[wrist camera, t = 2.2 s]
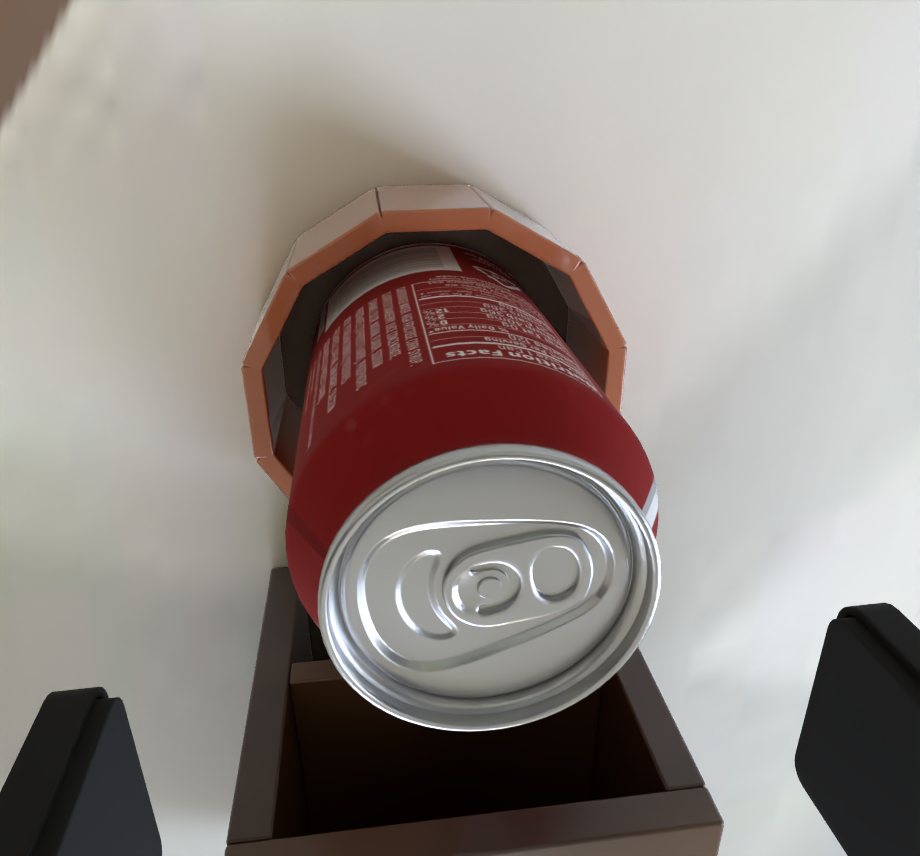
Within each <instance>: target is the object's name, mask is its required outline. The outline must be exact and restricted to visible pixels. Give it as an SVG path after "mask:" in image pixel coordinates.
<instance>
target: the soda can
mask: <svg viewBox="0 0 920 856" xmlns="http://www.w3.org/2000/svg"><path fill="white" fill-rule="evenodd" d="M657 526H658V496H657V488H656V483H655V479H654V475H653V471H652V468H651V465H650V463H649V460H648V457H647V455H646V453H645V451H644V449H643V447H642V445H641V443H640V441H639V440H638V438H637V437H636V435H635V434H634V432H633V431H632V429H631V428H630V426H629V425H628V424H627V422H626V421H625V420H624V418H623V417H622V416H621V414H620V413H619V412H618V411H617V409H616V408H615V407H614V405H613V404H612V403H611V402H610V400H609V399H608V398H607V396H606V395H605V394H604V393H603V391H602V390H601V389H600V387H599V386H598V385H597V383H596V382H595V381H594V380H593V378H592V377H591V376H590V374H589V373H588V372H587V371H586V369H585V368H584V367H583V365H582V364H581V363H580V362H579V360H578V359H577V358H576V356H575V355H574V354H573V352H572V351H571V350H570V349H569V347H568V346H567V345H566V343H565V342H564V341H563V340H562V338H561V337H560V336H559V334H558V333H557V332H556V330H555V329H554V328H553V327H552V325H551V324H550V323H549V321H548V320H547V319H546V318H545V316H544V315H543V314H542V312H541V311H540V310H539V309H538V307H537V306H536V305H535V303H534V302H533V301H532V299H531V298H530V297H529V296H528V294H527V293H526V292H525V290H524V289H523V288H522V287H521V285H520V284H519V283H518V282H517V281H516V279H515V278H514V277H513V276H512V275H511V274H509V273H508V272H507V271H506V270H505V269H504V268H503V267H501V266H500V265H499V264H497V263H496V262H494V261H493V260H491V259H489V258H488V257H486V256H484V255H482V254H480V253H478V252H475V251H472V250H470V249H467V248H463V247H460V246H456V245H450V244H443V243H418V244H411V245H405V246H401V247H397V248H394V249H391V250H388V251H385V252H383V253H381V254H379V255H377V256H374V257H372V258H371V259H369V260H367V261H366V262H364V263H362V264H361V265H360V266H358V267H357V268H356V269H354V270H353V271H352V272H351V273H350V274H349V275H348V276H347V277H345V278H344V279H343V281H342V282H341V283H340V284H339V285H338V286H337V287H336V289H335V290H334V291H333V293H332V294H331V296H330V297H329V299H328V301H327V302H326V304H325V306H324V308H323V310H322V312H321V314H320V317H319V320H318V323H317V326H316V329H315V334H314V339H313V345H312V351H311V358H310V365H309V371H308V378H307V385H306V391H305V398H304V405H303V411H302V418H301V425H300V431H299V438H298V445H297V451H296V458H295V465H294V471H293V478H292V485H291V491H290V498H289V505H288V511H287V520H286V531H285V534H286V553H287V560H288V566H289V570H290V574H291V577H292V581H293V584H294V586H295V589H296V591H297V594H298V596H299V598H300V600H301V602H302V603H303V605H304V607H305V609H306V611H307V612H308V614H309V615H310V616H311V618H312V619H313V621H314V622H315V623H316V625H317V626H318V627H319V628H320V631H321V634H322V638H323V642H324V645H325V647H326V650H327V652H328V655H329V657H330V658H331V660H332V662H333V664H334V666H335V667H336V669H337V670H338V671H339V673H340V674H341V676H342V677H343V678H344V679H345V681H346V682H347V683H348V684H349V685H350V686H351V687H352V688H353V689H354V690H355V691H356V692H357V693H358V694H360V695H361V696H362V697H363V698H365V699H366V700H367V701H369V702H370V703H371V704H373V705H374V706H376V707H378V708H380V709H381V710H383V711H385V712H387V713H389V714H391V715H393V716H395V717H397V718H400V719H403V720H405V721H408V722H411V723H414V724H418V725H422V726H426V727H431V728H436V729H442V730H452V731H487V730H496V729H503V728H508V727H514V726H518V725H522V724H526V723H530V722H533V721H536V720H539V719H542V718H545V717H547V716H550V715H552V714H555V713H557V712H559V711H561V710H563V709H565V708H567V707H569V706H571V705H573V704H575V703H577V702H578V701H580V700H582V699H583V698H585V697H587V696H588V695H589V694H591V693H592V692H594V691H595V690H596V689H598V688H599V687H600V686H602V685H603V684H604V683H605V682H606V681H608V680H609V679H610V678H611V677H612V676H613V675H614V674H615V673H616V672H617V671H618V670H619V669H620V668H621V667H622V666H623V665H624V664H625V663H626V661H627V660H628V659H629V658H630V657H631V655H632V654H633V653H634V651H635V650H636V648H637V647H638V646H639V644H640V642H641V641H642V639H643V637H644V636H645V634H646V632H647V630H648V628H649V626H650V623H651V621H652V619H653V616H654V613H655V610H656V607H657V603H658V598H659V593H660V585H661V564H660V556H659V551H658V547H657V543H656V535H657Z"/></svg>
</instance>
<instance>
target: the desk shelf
mask: <svg viewBox="0 0 920 856" xmlns="http://www.w3.org/2000/svg"><path fill="white" fill-rule="evenodd" d="M723 827H724V822H723V820H722V817H721V815H720V813H719V811H718V809H717V807H716V805H715V803H714V801H713V799H712V797H711V795H710V793H709V791H708V789H707V788H706V787H705V782H704V780H703V778H702V776H701V774H700V772H699V770H698V768H697V766H696V764H695V762H694V760H693V758H692V756H691V754H690V752H689V750H688V748H687V746H686V744H685V742H684V740H683V738H682V736H681V734H680V731H679V729H678V727H677V725H676V723H675V721H674V719H673V717H672V715H671V713H670V711H669V709H668V707H667V705H666V703H665V701H664V699H663V697H662V695H661V693H660V691H659V689H658V687H657V685H656V683H655V681H654V678H653V676H652V674H651V672H650V670H649V668H648V666H647V664H646V662H645V660H644V658H643V656H642V654H641V652H640V650H639V648H638V647H637V648H636V650H635V651H634V653H633V654H632V655H631V657H630V658H629V659H628V660H627V661H626V663H625V664H624V665H623V666H622V667H621V668H620V669H619V670H618V671H617V672H616V673H615V674H614V675H613V676H612V677H611V678H610V679H609V680H608V681H606V682H605V683H604V684H603V685H602V686H600V687H599V688H598V689H596V690H595V691H594V692H592V693H591V694H589V695H588V696H587V697H585V698H583V699H582V700H580V701H578V702H577V703H575V704H573V705H571V706H569V707H567V708H565V709H563V710H561V711H559V712H557V713H555V714H552V715H550V716H547V717H545V718H542V719H539V720H536V721H533V722H530V723H526V724H522V725H518V726H514V727H508V728H503V729H496V730H487V731H452V730H442V729H436V728H431V727H426V726H422V725H418V724H414V723H411V722H408V721H405V720H403V719H400V718H397V717H395V716H393V715H391V714H389V713H387V712H385V711H383V710H381V709H380V708H378V707H376V706H374V705H373V704H371V703H370V702H369V701H367V700H366V699H365V698H363V697H362V696H361V695H360V694H358V693H357V692H356V691H355V690H354V689H353V688H352V687H351V686H350V685H349V684H348V683H347V682H346V681H345V679H344V678H343V677H342V676H341V674H340V673H339V671H338V670H337V669H336V667H335V666H334V664H333V662H332V660H321V661H313V659H312V651H311V643H310V634H309V626H308V618H307V611H306V609H305V607H304V605H303V603H302V602H301V600H300V598H299V596H298V594H297V591H296V589H295V586H294V584H293V581H292V577H291V574H290V570H289V568H279V569H272V571H271V576H270V582H269V588H268V594H267V600H266V606H265V612H264V618H263V624H262V630H261V636H260V642H259V648H258V654H257V660H256V666H255V672H254V678H253V685H252V691H251V697H250V703H249V709H248V715H247V721H246V727H245V733H244V739H243V745H242V751H241V757H240V763H239V769H238V775H237V781H236V787H235V793H234V799H233V805H232V811H231V817H230V823H229V829H228V835H227V841H226V843H227V847H226V850H225V855H224V856H717V854H718V850H719V845H720V841H721V836H722V831H723Z"/></svg>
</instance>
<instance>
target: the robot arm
mask: <svg viewBox="0 0 920 856" xmlns="http://www.w3.org/2000/svg"><path fill="white" fill-rule="evenodd" d="M795 768H796V772H797V775H798V778H799V780H800V782H801V784H802V786H803V788H804V789H805V791H806V792H807V794H808V795H809V797H810V798H811V800H812V801H813V803H814V804H815V806H816V808H817V809H818V811H819V812H820V814H821V815H822V817H823V818H824V820H825V821H826V823H827V824H828V826H829V828H830V829H831V831H832V832H833V834H834V835H835V837H836V838H837V840H838V841H839V843H840V845H841V846H842V848H843V849H844V851H845V852H846V854H847V855H848V856H920V630H919V629H918V628H917V627H916V626H915V625H914V624H913V623H912V622H911V621H910V620H909V619H907V618H906V617H905V616H904V615H903V614H902V613H901V612H900V611H899V610H898V609H897V608H895V607H894V606H893V605H891V604H887V603H878V604H868V605H859V606H850V607H845V608H843V609H842V610H841V611H840V612H839V614H838V616H837V619H833V620H832V621H831V622H830V623H829V626H828V629H827V633H826V637H825V640H824V644H823V648H822V652H821V656H820V660H819V664H818V668H817V672H816V676H815V680H814V683H813V687H812V691H811V695H810V699H809V703H808V707H807V711H806V715H805V719H804V723H803V726H802V730H801V734H800V738H799V742H798V746H797V750H796V754H795ZM0 856H162V845H161V839H160V835H159V832H158V828H157V824H156V821H155V817H154V813H153V810H152V806H151V802H150V799H149V795H148V791H147V788H146V784H145V780H144V777H143V773H142V769H141V766H140V762H139V758H138V755H137V751H136V747H135V744H134V740H133V736H132V733H131V729H130V725H129V722H128V718H127V714H126V711H125V707H124V704H123V701H122V699H121V698H120V697H116V698H109V697H108V695H107V692H106V690H105V689H104V688H103V687H94V688H85V689H75V690H66V691H57V692H52V693H50V694H49V695H48V696H47V697H46V699H45V701H44V702H43V704H42V706H41V708H40V710H39V713H38V715H37V717H36V719H35V721H34V723H33V725H32V727H31V729H30V731H29V733H28V736H27V738H26V740H25V742H24V744H23V746H22V748H21V750H20V752H19V754H18V756H17V759H16V761H15V763H14V765H13V767H12V769H11V771H10V773H9V775H8V777H7V780H6V782H5V784H4V786H3V788H2V790H1V792H0Z"/></svg>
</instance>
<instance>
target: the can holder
mask: <svg viewBox="0 0 920 856" xmlns="http://www.w3.org/2000/svg"><path fill="white" fill-rule="evenodd" d="M485 229H486V230H488V231H490V232H492V233H494V234H495V235H497V236H499V237H501V238H502V239H504V240H506V241H508V242H510V243H511V244H513V245H515V246H517V247H518V248H520V249H522V250H524V251H526V252H527V253H529V254H531V255H533V256H534V257H536V258H538V259H540V260H542V261H543V262H544V263H545V265H546V266H547V268H548V270H549V272H550V274H551V276H552V278H553V279H554V281H555V283H556V285H557V287H558V289H559V291H560V292H561V294H562V296H563V298H564V300H565V302H566V304H567V305H568V325H567V343H566V345H567V346H568V347H569V349H570V350H571V351H572V352H573V354H574V355H575V356H576V358H577V359H578V360H579V362H580V363H581V364H582V365H583V367H584V368H585V369H586V371H587V372H588V373H589V374H590V376H591V377H592V378H593V380H594V381H595V382H596V383H597V385H598V386H599V387H600V389H601V390H602V391H603V393H604V394H605V395H606V396H607V398H608V399H609V400H610V402H611V403H612V404H613V405H614V407H615V408H616V409H617V411H618V412H619V413H620V414H621V405H622V395H623V384H624V374H625V363H626V352H627V347H626V346H625V344H626V342H625V340H624V338H623V336H622V334H621V332H620V330H619V328H618V326H617V324H616V322H615V320H614V318H613V316H612V314H611V312H610V310H609V309H608V307H607V305H606V303H605V301H604V299H603V297H602V295H601V293H600V291H599V289H598V287H597V285H596V283H595V281H594V279H593V277H592V275H591V273H590V271H589V269H588V267H587V265H586V263H585V262H584V261H582V260H581V258H580V257H579V256H578V255H576V254H575V253H574V252H573V251H572V250H570V249H569V248H568V247H567V246H566V245H565V244H563V243H562V242H561V241H560V240H559V239H557V238H556V237H555V236H554V235H553V234H551V233H550V232H549V231H548V230H547V229H545V228H544V227H543V226H541V225H539V224H538V223H536V222H534V221H532V220H531V219H529V218H527V217H526V216H524V215H522V214H520V213H519V212H517V211H515V210H513V209H512V208H510V207H508V206H507V205H505V204H503V203H501V202H500V201H498V200H496V199H494V198H493V197H491V196H489V195H488V194H486V193H484V192H482V191H481V190H479V189H477V188H476V187H474V186H472V185H470V186H468V185H467V184H441V185H404V186H378V187H377V191H376V189H375V188H372V189H370V190H369V191H367V192H366V193H364V194H363V195H361V196H359V197H358V198H356V199H355V200H353V201H352V202H350V203H349V204H347V205H346V206H344V207H342V208H341V209H339V210H338V211H336V212H335V213H333V214H332V215H330V216H329V217H327V218H325V219H324V220H322V221H321V222H319V223H318V224H316V225H315V226H313V227H312V228H310V229H309V230H307V231H305V232H304V233H302V234H301V235H300V236H299V238H298V239H296V240H295V242H294V244H293V246H292V249H291V251H290V253H289V255H288V257H287V259H286V261H285V264H284V266H283V268H282V270H281V272H280V274H279V276H278V278H277V281H276V283H275V285H274V287H273V289H272V291H271V293H270V296H269V298H268V300H267V302H266V304H265V306H264V308H263V311H262V313H261V315H260V318H259V320H258V323H257V325H256V328H255V331H254V333H253V336H252V339H251V341H250V344H249V346H248V349H247V352H246V354H245V357H244V359H243V366H242V375H243V382H244V389H245V396H246V403H247V409H248V416H249V423H250V430H251V437H252V444H253V450H254V456H255V458H257V463H258V464H259V465H260V466H261V467H262V468H263V470H264V471H265V472H266V473H267V474H268V475H269V477H270V478H271V479H272V480H273V481H274V482H275V484H276V485H277V486H278V487H279V488H280V490H281V491H282V492H283V493H284V494H285V495H286V497H287V498H288V499H289V498H290V491H291V485H292V478H293V471H294V465H295V458H296V451H297V445H298V438H299V431H300V425H301V418H302V413H301V412H300V411H299V409H298V408H297V407H296V406H295V404H294V403H293V402H292V401H291V399H290V398H289V397H288V395H287V394H286V386H285V377H284V369H283V361H282V352H281V344H280V336H279V335H280V333H281V331H282V329H283V327H284V325H285V322H286V320H287V318H288V316H289V314H290V312H291V310H292V308H293V306H294V304H295V302H296V300H297V298H298V295H299V293H300V291H301V289H302V287H303V286H304V285H306V284H307V283H309V282H310V281H312V280H313V279H315V278H317V277H318V276H320V275H321V274H323V273H324V272H326V271H328V270H329V269H331V268H332V267H334V266H335V265H337V264H339V263H340V262H342V261H343V260H345V259H346V258H348V257H350V256H351V255H353V254H354V253H356V252H357V251H359V250H361V249H362V248H364V247H365V246H367V245H368V244H370V243H372V242H373V241H375V240H376V239H378V238H379V237H381V236H383V235H384V234H386V233H397V232H426V231H456V230H485Z"/></svg>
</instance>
